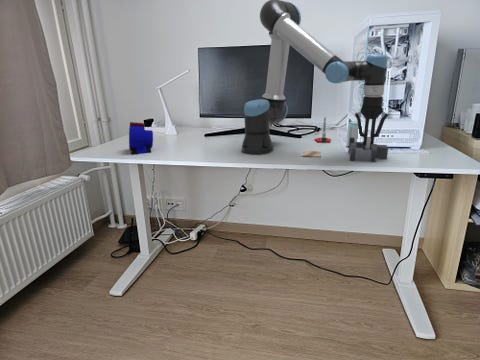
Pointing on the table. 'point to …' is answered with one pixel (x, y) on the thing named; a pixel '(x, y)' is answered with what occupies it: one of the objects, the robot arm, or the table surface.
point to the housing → (361, 151)
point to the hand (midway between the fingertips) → (367, 152)
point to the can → (352, 131)
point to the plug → (381, 151)
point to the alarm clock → (140, 138)
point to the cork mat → (311, 154)
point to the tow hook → (323, 135)
